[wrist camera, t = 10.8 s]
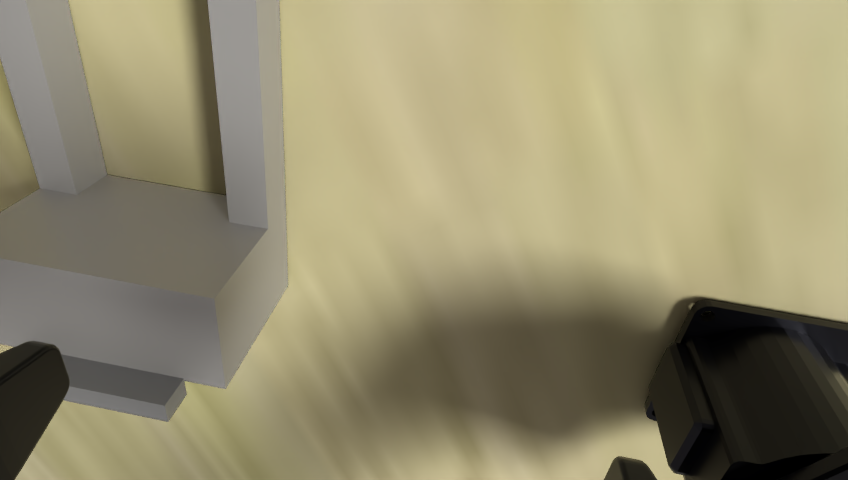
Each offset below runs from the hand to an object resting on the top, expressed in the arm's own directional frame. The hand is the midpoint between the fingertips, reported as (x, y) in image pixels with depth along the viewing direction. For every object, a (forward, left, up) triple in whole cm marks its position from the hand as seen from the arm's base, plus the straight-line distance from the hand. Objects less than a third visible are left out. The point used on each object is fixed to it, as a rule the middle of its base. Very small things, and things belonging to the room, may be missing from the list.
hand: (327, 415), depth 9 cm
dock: (+10, 0, -12) cm, 16 cm away
